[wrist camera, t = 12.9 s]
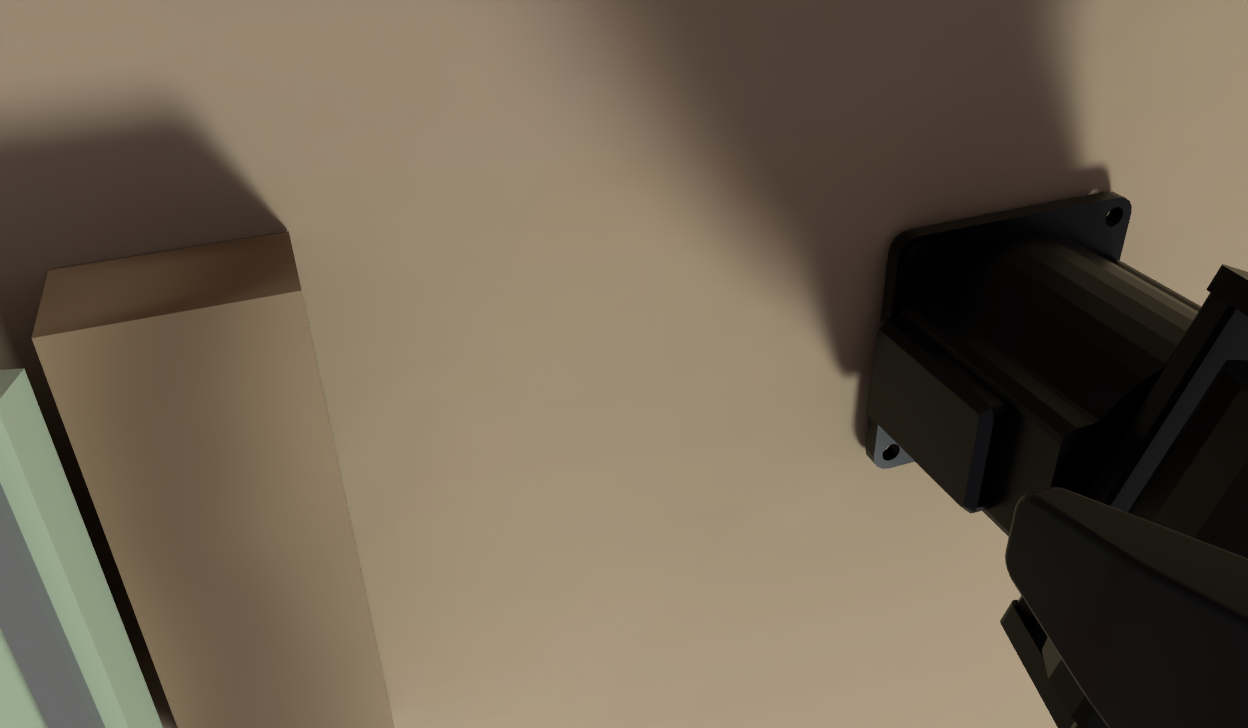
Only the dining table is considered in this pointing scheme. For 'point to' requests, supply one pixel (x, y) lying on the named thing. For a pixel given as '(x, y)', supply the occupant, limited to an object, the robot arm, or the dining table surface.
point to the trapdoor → (55, 592)
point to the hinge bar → (217, 480)
